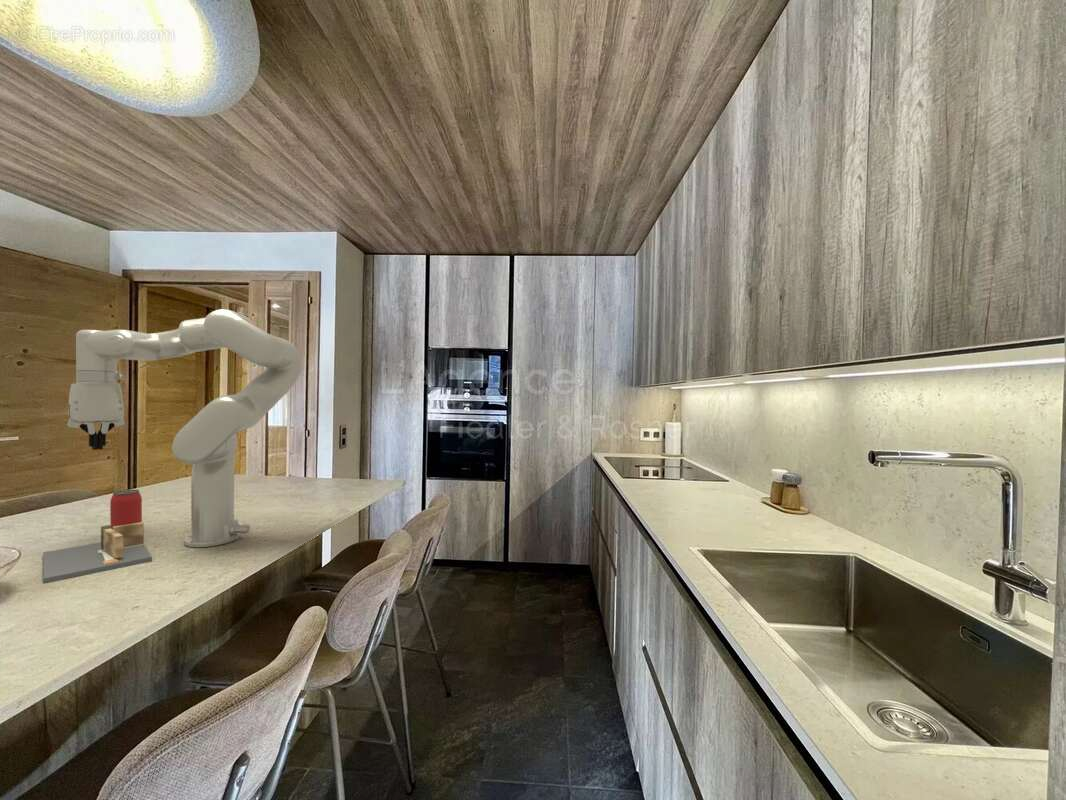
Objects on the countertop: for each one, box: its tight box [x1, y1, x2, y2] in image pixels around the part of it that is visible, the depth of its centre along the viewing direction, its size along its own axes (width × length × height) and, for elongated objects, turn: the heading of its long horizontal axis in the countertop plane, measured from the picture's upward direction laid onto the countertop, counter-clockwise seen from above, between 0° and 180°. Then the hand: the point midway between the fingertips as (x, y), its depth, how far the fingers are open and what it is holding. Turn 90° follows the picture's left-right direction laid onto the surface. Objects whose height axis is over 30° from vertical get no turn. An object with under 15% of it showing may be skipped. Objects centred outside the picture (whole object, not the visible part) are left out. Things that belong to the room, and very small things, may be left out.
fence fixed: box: [113, 521, 145, 548], centre depth 114 cm, size 6×1×6 cm, turn 138°
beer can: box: [109, 489, 143, 530], centre depth 127 cm, size 7×7×12 cm
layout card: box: [42, 541, 153, 584], centre depth 109 cm, size 18×22×1 cm
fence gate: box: [100, 524, 123, 558], centre depth 109 cm, size 11×2×6 cm, turn 56°
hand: (97, 449), depth 118 cm, fingers closed
